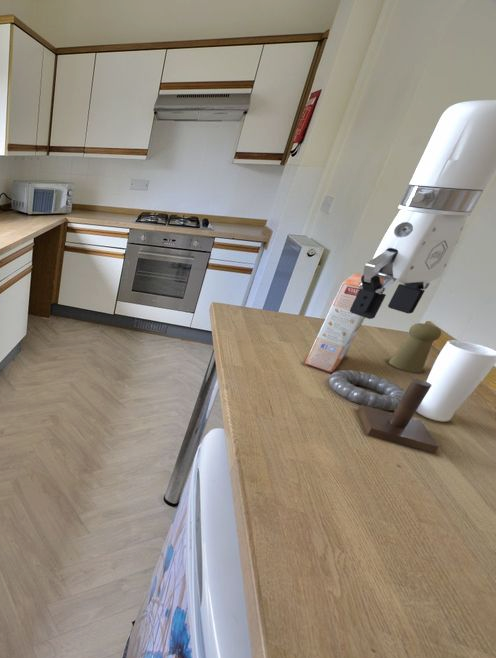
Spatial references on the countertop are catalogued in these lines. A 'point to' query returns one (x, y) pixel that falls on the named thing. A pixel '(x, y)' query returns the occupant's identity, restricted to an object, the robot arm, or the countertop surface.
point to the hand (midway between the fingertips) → (380, 312)
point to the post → (401, 420)
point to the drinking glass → (455, 378)
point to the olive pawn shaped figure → (415, 348)
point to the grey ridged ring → (344, 387)
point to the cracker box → (337, 328)
